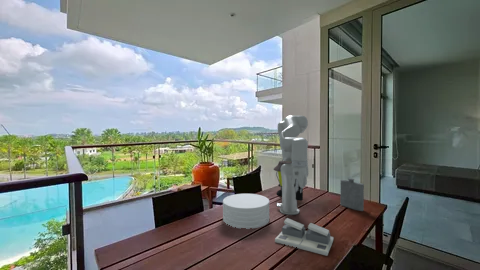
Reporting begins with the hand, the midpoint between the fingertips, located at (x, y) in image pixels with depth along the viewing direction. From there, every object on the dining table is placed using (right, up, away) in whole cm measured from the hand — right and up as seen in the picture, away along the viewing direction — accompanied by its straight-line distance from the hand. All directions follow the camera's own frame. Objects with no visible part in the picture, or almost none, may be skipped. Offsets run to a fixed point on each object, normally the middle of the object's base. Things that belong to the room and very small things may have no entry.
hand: (299, 199), depth 116 cm
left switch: (-3, -13, +1) cm, 13 cm away
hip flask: (+46, -17, +42) cm, 65 cm away
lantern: (+8, -16, +73) cm, 75 cm away
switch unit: (+2, -19, -4) cm, 19 cm away
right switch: (+8, -13, -5) cm, 16 cm away
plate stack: (-26, -19, +24) cm, 40 cm away
